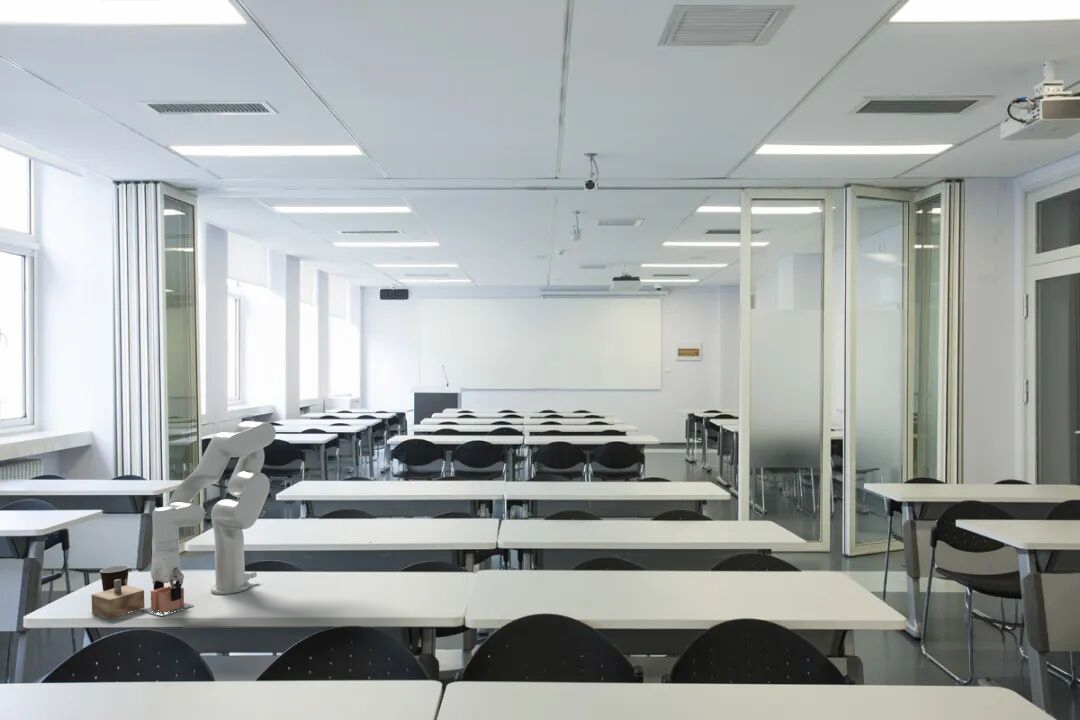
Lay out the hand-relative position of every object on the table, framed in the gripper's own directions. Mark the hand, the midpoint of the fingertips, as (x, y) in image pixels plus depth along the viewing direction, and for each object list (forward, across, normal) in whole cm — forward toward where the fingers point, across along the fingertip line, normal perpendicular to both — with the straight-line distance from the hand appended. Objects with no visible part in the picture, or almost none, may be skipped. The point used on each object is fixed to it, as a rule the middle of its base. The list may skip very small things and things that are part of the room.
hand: (167, 597), depth 240 cm
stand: (+4, -13, -9) cm, 16 cm away
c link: (+3, 0, 0) cm, 3 cm away
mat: (+4, 0, 0) cm, 4 cm away
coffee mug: (+4, -28, -1) cm, 28 cm away
